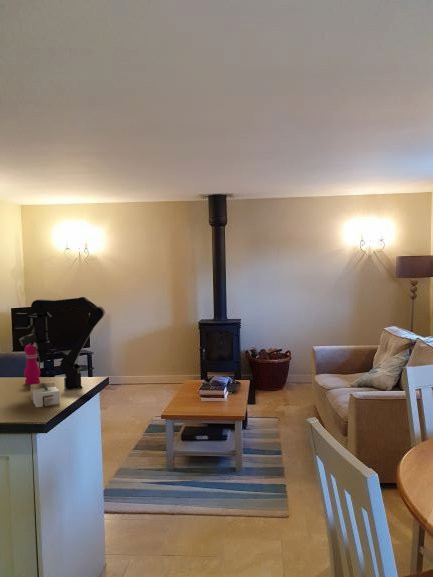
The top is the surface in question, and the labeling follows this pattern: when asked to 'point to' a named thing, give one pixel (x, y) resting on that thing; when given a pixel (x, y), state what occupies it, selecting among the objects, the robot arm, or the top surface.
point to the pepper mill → (31, 366)
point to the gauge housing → (41, 392)
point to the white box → (46, 399)
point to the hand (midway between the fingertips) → (41, 362)
